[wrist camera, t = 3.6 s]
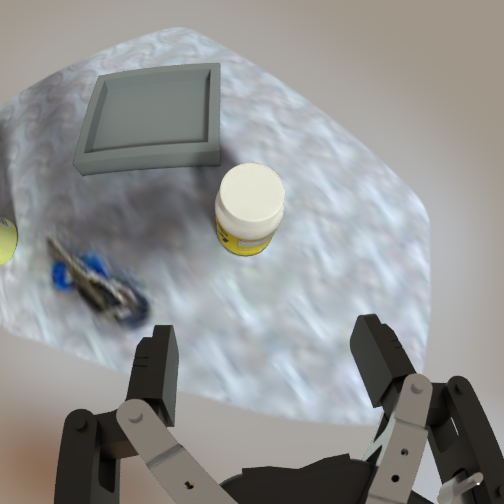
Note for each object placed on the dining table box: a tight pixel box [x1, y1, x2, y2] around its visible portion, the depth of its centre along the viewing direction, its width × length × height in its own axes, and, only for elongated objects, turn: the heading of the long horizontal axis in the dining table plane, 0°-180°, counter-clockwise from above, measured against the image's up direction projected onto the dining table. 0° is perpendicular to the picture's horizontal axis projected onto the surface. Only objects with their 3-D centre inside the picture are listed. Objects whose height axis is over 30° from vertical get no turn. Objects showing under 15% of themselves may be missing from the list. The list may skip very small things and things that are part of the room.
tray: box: [73, 63, 220, 176], centre depth 27 cm, size 14×12×2 cm
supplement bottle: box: [215, 163, 285, 257], centre depth 22 cm, size 5×5×8 cm
